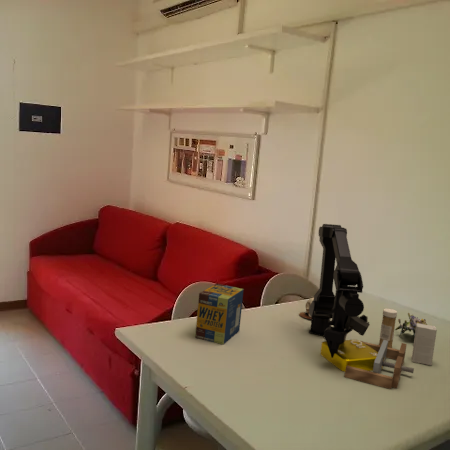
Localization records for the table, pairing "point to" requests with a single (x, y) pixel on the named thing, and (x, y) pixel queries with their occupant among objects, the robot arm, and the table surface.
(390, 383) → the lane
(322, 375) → the table surface
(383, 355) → the pusher
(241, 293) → the protein box
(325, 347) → the element tile
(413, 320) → the passion flower
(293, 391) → the table surface
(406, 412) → the table surface
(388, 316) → the sprinkles bottle
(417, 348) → the skincare box
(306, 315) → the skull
